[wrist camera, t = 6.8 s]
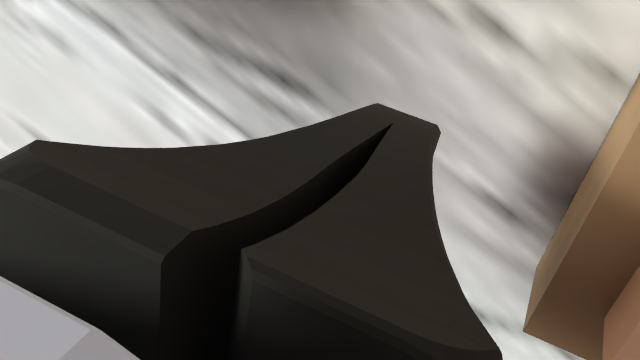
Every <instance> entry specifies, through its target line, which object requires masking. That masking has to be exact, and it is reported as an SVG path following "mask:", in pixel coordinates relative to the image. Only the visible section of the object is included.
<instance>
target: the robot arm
mask: <svg viewBox="0 0 640 360" xmlns="http://www.w3.org/2000/svg"><path fill="white" fill-rule="evenodd" d="M440 134H441V132H440V130H439V128H438V125H436V124H433V123H430V122H428V121H425V120H422V119H419V118H417V117H414V116H411V115H408V114H406V113H403V112H400V111H397V110H395V109H392V108H389V107H386V106H384V105H381V104H378V103H377V104H373V105H369V106H366V107H363V108H360V109H358V110H355V111H352V112H349V113H346V114H343V115H340V116H337V117H334V118H331V119H328V120H325V121H322V122H319V123H316V124H313V125H310V126H306V127H302V128H299V129H295V130H291V131H288V132H284V133H280V134H277V135H273V136H268V137H264V138H258V139H253V140H247V141H241V142H234V143H228V144H220V145H207V146H193V147H179V148H120V147H101V146H91V145H81V144H70V143H60V142H50V141H42V140H35V141H33V142H32V143H30V144H28V145H26V146H24V147H22V148H20V149H19V150H17V151H15V152H13V153H11V154H9V155H7V156H5V157H4V158H2V159H0V360H503V358H502V353H501V351H500V349H499V347H498V346H497V344H496V343H495V342H494V340H493V339H492V337H491V336H490V334H489V333H488V331H487V330H486V329H485V327H484V326H483V324H482V323H481V321H480V320H479V319H478V317H477V316H476V314H475V313H474V311H473V310H472V308H471V307H470V305H469V303H468V301H467V299H466V298H465V296H464V294H463V292H462V290H461V287H460V285H459V283H458V280H457V278H456V276H455V273H454V271H453V269H452V266H451V264H450V262H449V259H448V257H447V253H446V250H445V247H444V244H443V241H442V237H441V233H440V229H439V225H438V221H437V216H436V210H435V203H434V195H433V183H432V162H433V155H434V152H435V149H436V146H437V143H438V140H439V137H440Z"/></svg>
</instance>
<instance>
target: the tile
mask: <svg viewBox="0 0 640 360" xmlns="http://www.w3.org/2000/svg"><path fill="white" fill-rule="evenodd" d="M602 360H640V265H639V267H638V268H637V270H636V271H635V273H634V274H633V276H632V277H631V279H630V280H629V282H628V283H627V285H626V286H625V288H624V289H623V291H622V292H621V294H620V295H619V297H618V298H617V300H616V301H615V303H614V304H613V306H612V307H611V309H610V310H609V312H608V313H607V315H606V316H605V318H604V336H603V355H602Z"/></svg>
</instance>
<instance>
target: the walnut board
mask: <svg viewBox="0 0 640 360" xmlns="http://www.w3.org/2000/svg"><path fill="white" fill-rule="evenodd" d="M639 265H640V73H639V75H638V77H637V79H636V81H635V83H634V85H633V87H632V89H631V90H630V92H629V94H628V96H627V98H626V100H625V102H624V104H623V106H622V107H621V109H620V111H619V113H618V115H617V117H616V119H615V121H614V123H613V124H612V126H611V128H610V130H609V132H608V134H607V136H606V138H605V140H604V141H603V143H602V145H601V147H600V149H599V151H598V153H597V155H596V157H595V158H594V160H593V162H592V164H591V166H590V168H589V170H588V172H587V173H586V175H585V177H584V179H583V181H582V183H581V185H580V187H579V189H578V190H577V192H576V194H575V196H574V198H573V200H572V202H571V204H570V206H569V207H568V209H567V211H566V213H565V215H564V217H563V219H562V221H561V223H560V224H559V226H558V228H557V230H556V232H555V234H554V236H553V238H552V240H551V241H550V243H549V245H548V247H547V249H546V251H545V253H544V255H543V256H542V258H541V260H540V262H539V264H538V266H537V268H536V271H535V276H534V281H533V286H532V290H531V295H530V300H529V304H528V309H527V314H526V318H525V323H524V328H523V332H525V333H527V334H529V335H532V336H534V337H536V338H539V339H541V340H543V341H545V342H548V343H550V344H552V345H554V346H557V347H559V348H561V349H564V350H566V351H568V352H570V353H573V354H575V355H577V356H579V357H582V358H584V359H586V360H602V355H603V336H604V318H605V316H606V315H607V313H608V312H609V310H610V309H611V307H612V306H613V304H614V303H615V301H616V300H617V298H618V297H619V295H620V294H621V292H622V291H623V289H624V288H625V286H626V285H627V283H628V282H629V280H630V279H631V277H632V276H633V274H634V273H635V271H636V270H637V268H638V267H639Z"/></svg>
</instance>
